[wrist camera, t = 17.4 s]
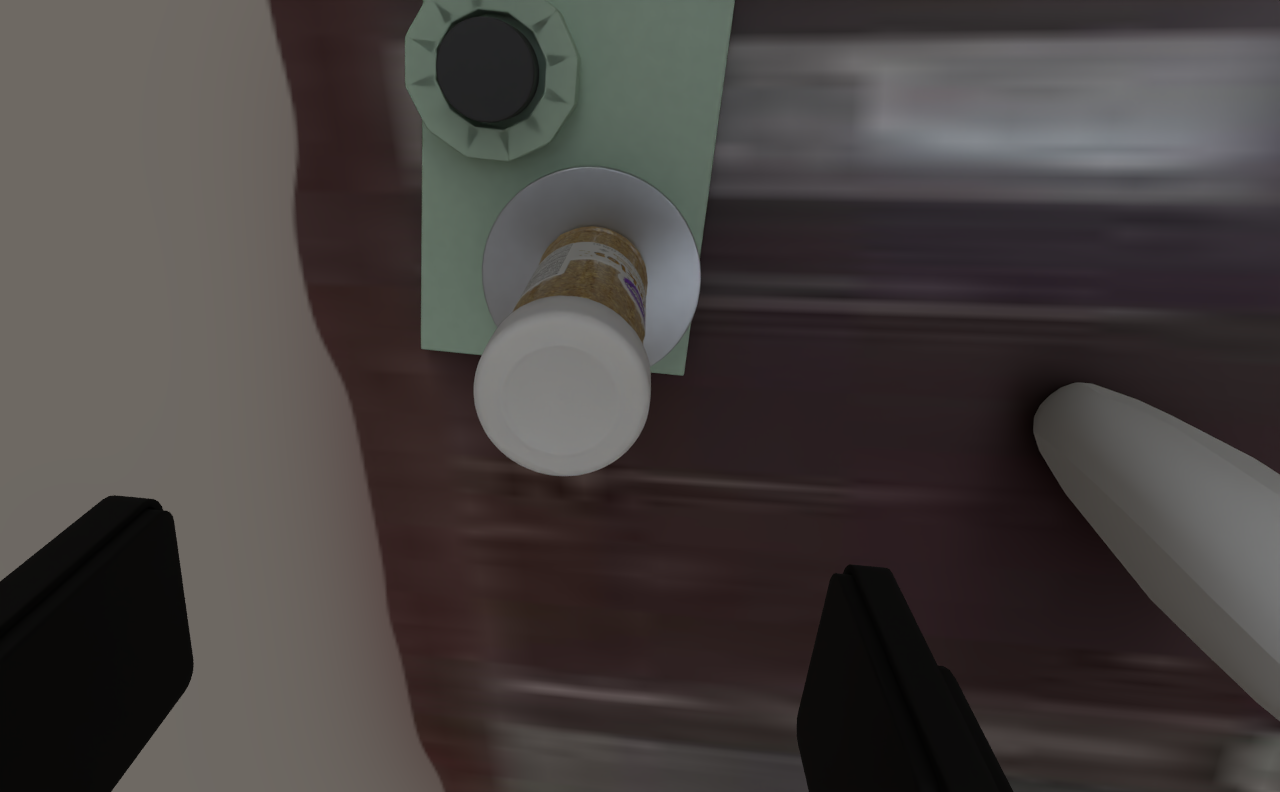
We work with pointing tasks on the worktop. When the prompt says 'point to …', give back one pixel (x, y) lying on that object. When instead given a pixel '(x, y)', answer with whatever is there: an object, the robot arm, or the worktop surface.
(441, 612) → the worktop surface
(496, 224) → the platter
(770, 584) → the worktop surface
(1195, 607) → the soap bottle
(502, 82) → the power button
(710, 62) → the scale
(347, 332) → the worktop surface
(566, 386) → the sprinkles bottle
